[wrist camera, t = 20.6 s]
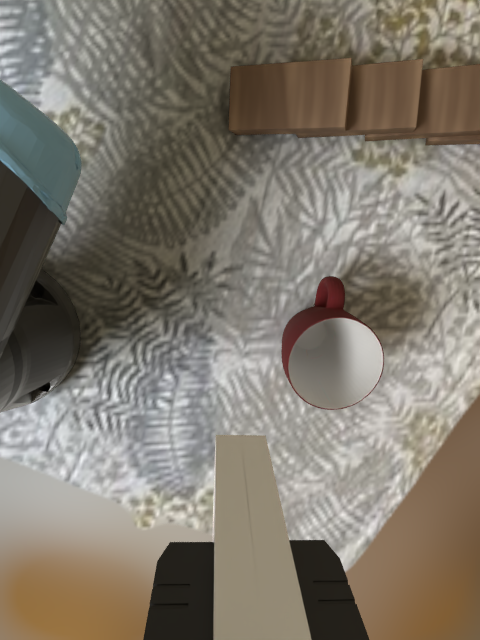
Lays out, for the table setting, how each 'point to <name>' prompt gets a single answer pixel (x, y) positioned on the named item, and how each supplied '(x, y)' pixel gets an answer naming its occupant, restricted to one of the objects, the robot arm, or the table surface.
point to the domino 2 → (382, 99)
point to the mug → (331, 352)
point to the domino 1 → (290, 97)
